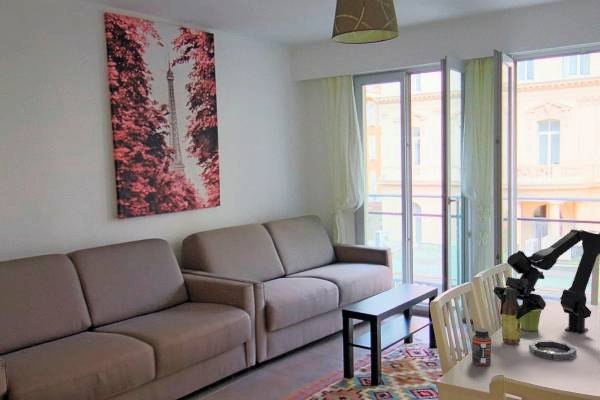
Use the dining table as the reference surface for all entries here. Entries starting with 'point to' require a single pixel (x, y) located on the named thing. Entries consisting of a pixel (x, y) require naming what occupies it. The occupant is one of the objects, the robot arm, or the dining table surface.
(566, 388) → the dining table surface
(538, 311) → the plant pot
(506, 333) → the sauce bottle
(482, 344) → the supplement bottle
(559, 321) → the dining table surface
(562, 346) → the dark grey octagonal tray
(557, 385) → the dining table surface
